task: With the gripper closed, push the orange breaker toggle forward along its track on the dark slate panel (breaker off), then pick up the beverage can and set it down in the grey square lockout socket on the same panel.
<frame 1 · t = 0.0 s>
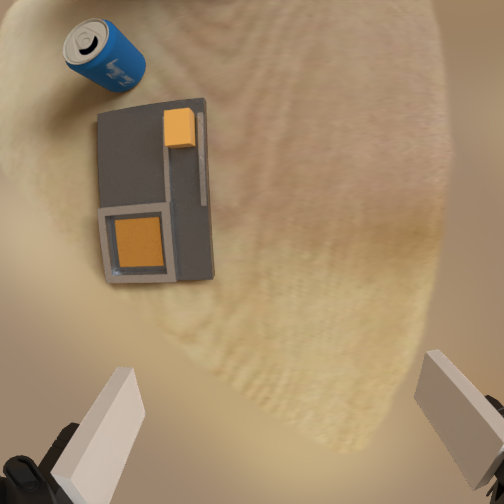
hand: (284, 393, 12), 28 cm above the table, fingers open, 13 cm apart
breaker: (180, 128, 33), point 4 cm above the table, slide at 0.0 cm
panel: (154, 191, 38), on the table
beverage can: (125, 72, 35), on the table
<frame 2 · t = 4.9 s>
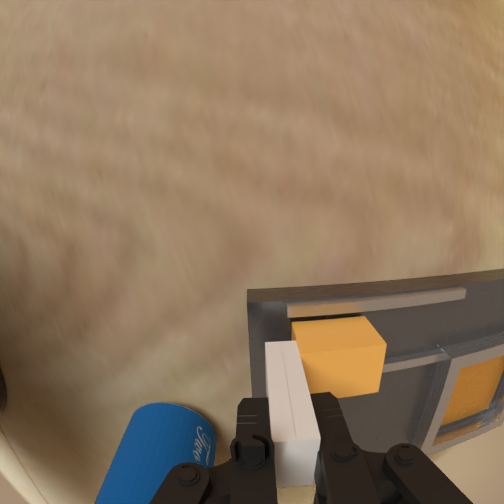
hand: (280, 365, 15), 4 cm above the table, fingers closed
breaker: (334, 357, 15), point 4 cm above the table, slide at 0.3 cm, touching gripper
panel: (406, 370, 20), on the table
beverage can: (175, 425, 21), on the table
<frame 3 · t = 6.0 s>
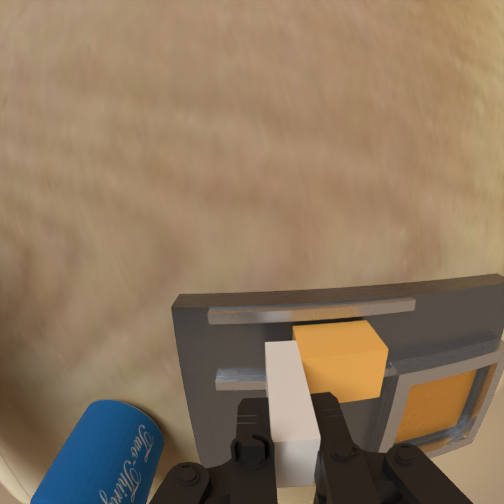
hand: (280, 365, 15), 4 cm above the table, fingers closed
breaker: (335, 361, 15), point 4 cm above the table, slide at 4.2 cm, touching gripper
panel: (356, 382, 19), on the table
beverage can: (127, 423, 21), on the table
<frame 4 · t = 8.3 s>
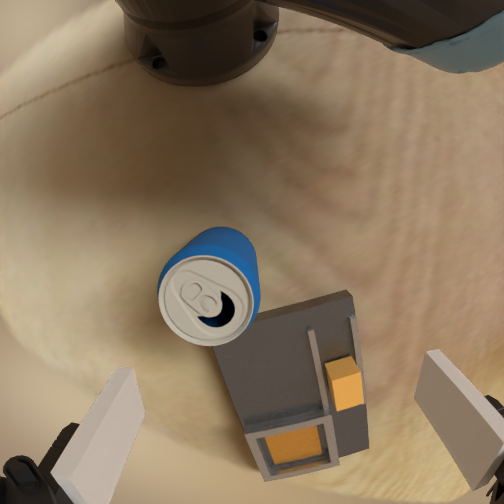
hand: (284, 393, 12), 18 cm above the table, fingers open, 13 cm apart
breaker: (344, 383, 28), point 4 cm above the table, slide at 4.2 cm
panel: (299, 394, 33), on the table
beverage can: (222, 259, 30), on the table
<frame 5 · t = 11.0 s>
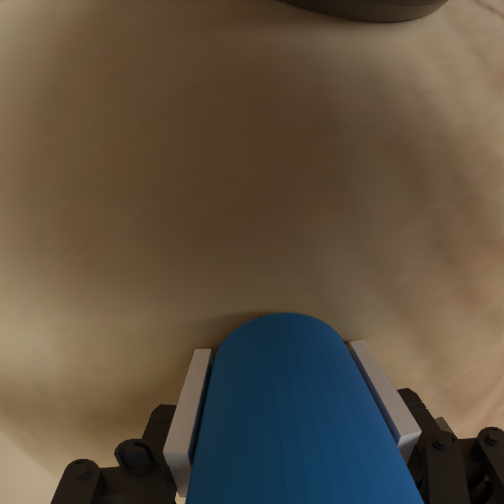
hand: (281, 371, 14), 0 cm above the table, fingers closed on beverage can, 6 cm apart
beverage can: (280, 363, 15), on the table, touching gripper
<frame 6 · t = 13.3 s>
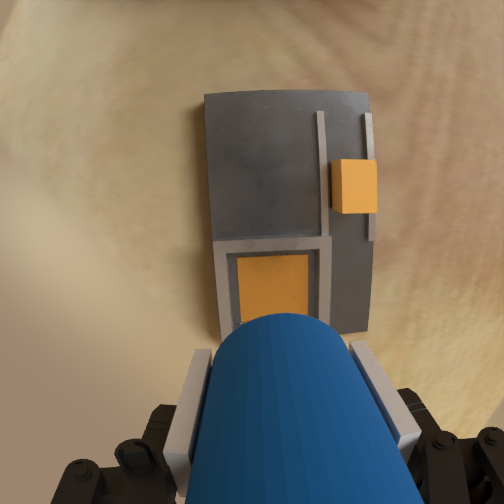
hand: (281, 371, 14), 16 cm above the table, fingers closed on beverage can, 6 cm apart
breaker: (353, 185, 24), point 4 cm above the table, slide at 4.2 cm
panel: (292, 216, 28), on the table
beverage can: (280, 364, 15), point 15 cm above the table, touching gripper
when the fingers open (4 cm above the table, at t = 15.7 s): beverage can drops 2 cm, resting on panel.
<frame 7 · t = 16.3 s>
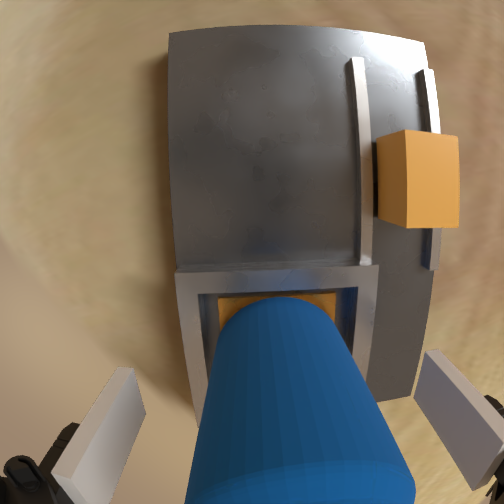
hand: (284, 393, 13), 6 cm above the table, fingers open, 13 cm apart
breaker: (417, 179, 13), point 4 cm above the table, slide at 4.2 cm
panel: (309, 228, 17), on the table
beverage can: (277, 345, 17), point 2 cm above the table, touching panel
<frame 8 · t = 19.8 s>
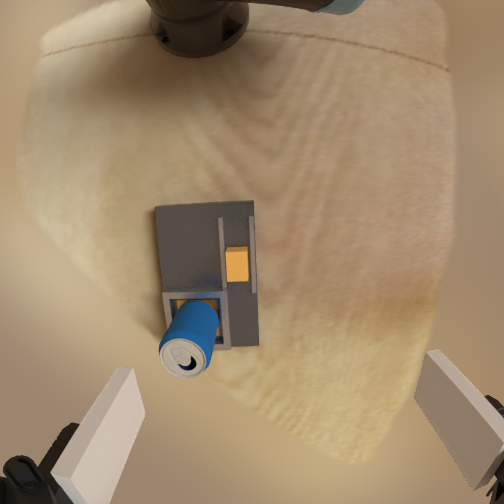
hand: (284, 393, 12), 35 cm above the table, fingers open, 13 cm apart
breaker: (237, 263, 43), point 4 cm above the table, slide at 4.2 cm
panel: (209, 276, 48), on the table
beverage can: (198, 317, 47), point 2 cm above the table, touching panel
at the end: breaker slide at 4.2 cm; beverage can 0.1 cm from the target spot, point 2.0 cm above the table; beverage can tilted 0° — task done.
